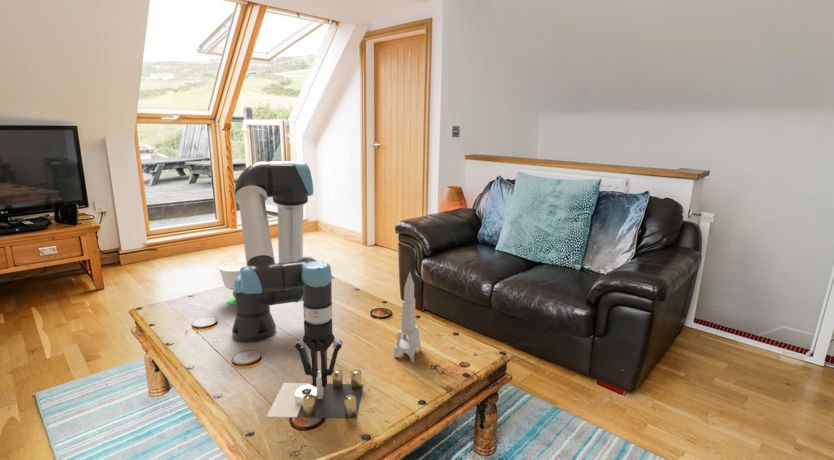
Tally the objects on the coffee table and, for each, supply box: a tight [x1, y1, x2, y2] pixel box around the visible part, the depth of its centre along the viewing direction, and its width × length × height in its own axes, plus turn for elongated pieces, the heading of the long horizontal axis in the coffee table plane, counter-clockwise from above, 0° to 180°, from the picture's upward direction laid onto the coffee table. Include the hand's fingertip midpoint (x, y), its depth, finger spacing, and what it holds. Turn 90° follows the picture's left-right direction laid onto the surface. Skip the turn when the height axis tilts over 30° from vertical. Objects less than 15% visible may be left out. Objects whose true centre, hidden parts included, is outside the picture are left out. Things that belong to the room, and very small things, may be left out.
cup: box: [218, 260, 247, 306], centre depth 195 cm, size 14×14×16 cm
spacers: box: [303, 368, 362, 419], centre depth 128 cm, size 14×16×5 cm
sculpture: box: [393, 271, 422, 363], centre depth 152 cm, size 7×8×30 cm
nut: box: [295, 385, 318, 406], centre depth 128 cm, size 7×6×3 cm
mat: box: [266, 382, 364, 419], centre depth 128 cm, size 24×16×1 cm, turn 90°
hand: (320, 396), depth 128 cm, fingers closed
